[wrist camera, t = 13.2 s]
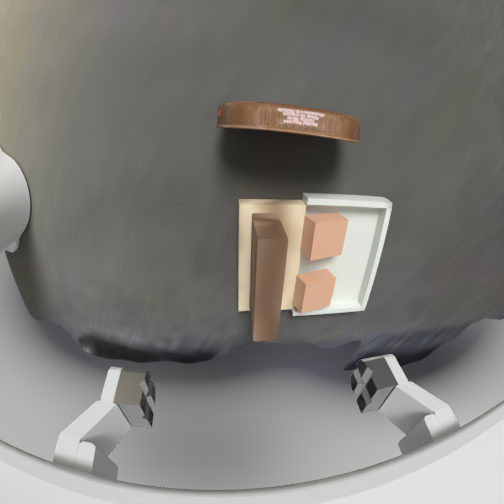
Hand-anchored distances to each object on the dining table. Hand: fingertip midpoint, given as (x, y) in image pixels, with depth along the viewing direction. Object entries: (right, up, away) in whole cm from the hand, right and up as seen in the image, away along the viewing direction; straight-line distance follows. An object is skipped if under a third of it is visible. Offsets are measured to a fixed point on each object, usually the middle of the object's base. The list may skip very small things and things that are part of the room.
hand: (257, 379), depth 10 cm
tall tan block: (+1, +3, +27) cm, 27 cm away
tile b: (+8, 0, +30) cm, 31 cm away
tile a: (+8, +7, +26) cm, 28 cm away
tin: (+3, +20, +21) cm, 29 cm away
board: (+2, +4, +29) cm, 29 cm away
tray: (+12, +4, +30) cm, 32 cm away
